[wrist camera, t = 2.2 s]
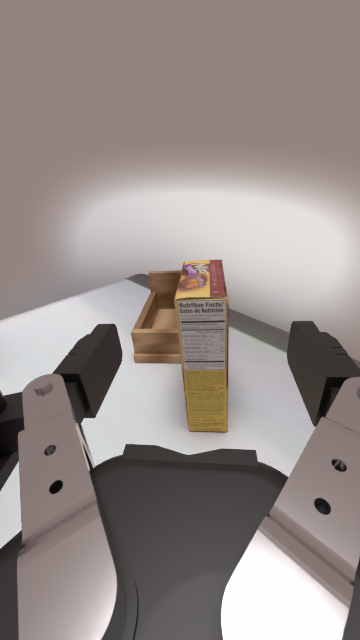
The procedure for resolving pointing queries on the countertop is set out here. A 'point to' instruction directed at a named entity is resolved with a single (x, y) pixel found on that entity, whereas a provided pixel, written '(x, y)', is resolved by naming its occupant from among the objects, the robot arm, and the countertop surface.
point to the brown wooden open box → (158, 322)
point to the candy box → (204, 343)
